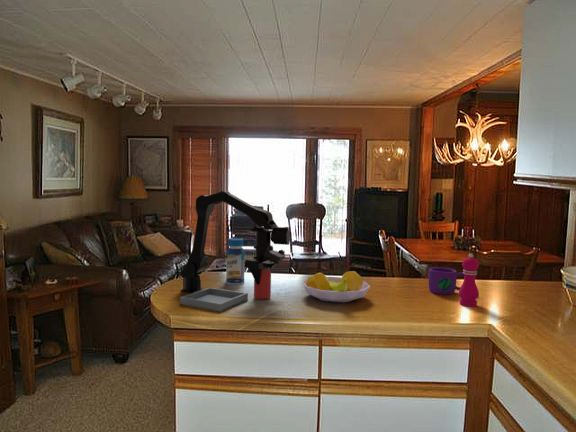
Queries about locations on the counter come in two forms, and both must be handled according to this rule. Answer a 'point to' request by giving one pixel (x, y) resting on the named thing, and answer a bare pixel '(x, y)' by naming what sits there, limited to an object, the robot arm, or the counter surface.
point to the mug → (443, 280)
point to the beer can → (263, 285)
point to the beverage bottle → (235, 261)
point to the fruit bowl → (336, 287)
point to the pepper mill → (469, 282)
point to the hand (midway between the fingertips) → (262, 282)
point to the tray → (214, 299)
